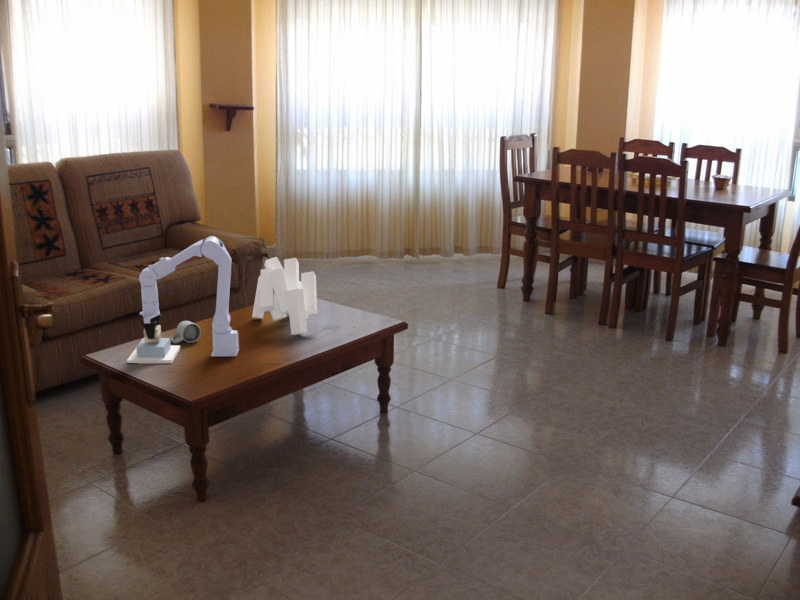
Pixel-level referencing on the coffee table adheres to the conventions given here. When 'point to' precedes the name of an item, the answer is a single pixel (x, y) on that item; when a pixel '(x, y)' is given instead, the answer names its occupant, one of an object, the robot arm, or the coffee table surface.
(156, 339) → the birch cube
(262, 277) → the pile of blocks
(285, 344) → the coffee table surface
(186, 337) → the ceramic mug
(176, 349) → the plinth base
